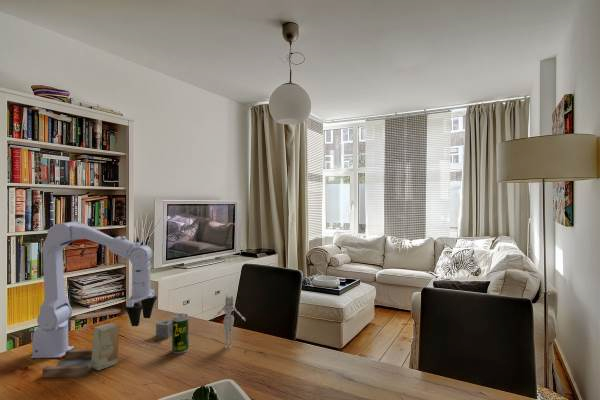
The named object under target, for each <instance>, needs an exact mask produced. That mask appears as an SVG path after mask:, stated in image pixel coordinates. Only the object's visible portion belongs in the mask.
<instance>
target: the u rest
mask: <svg viewBox="0 0 600 400" xmlns="http://www.w3.org/2000/svg"><path fill="white" fill-rule="evenodd" d="M64 356H65V358H64V359H63V360H62V361H60V362H59V363H58V364H57V365H54V366H53V365H52V366H51V365H50V366H44V367H43V368H42V378H71V377H72V378H75V377H79V378H80V377H87V376H88V375H89V374H90V373H91V372H92V371H93V370H94V369H95V368H93V367H91V359H92V348H91V349H90V348H89V349H88V348H87V349H80V348H79V349H71V350H67V351H66V352H65V355H64Z"/></svg>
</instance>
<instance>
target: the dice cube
mask: <svg viewBox="0 0 600 400" xmlns="http://www.w3.org/2000/svg"><path fill="white" fill-rule="evenodd" d="M155 337H156V338H159V339H160V338H161V339H169V338H172V319H162V320H160V321H159V322H157V323H156V324H155Z"/></svg>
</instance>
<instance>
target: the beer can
mask: <svg viewBox="0 0 600 400" xmlns="http://www.w3.org/2000/svg"><path fill="white" fill-rule="evenodd" d="M171 320H172V336H171V351H172V353H174V354H176V355H178V354H184V353H187V352H188V351H189V343H190V342H189V327H190V325H189V321H190V320H189V316H188V313H176V314H174V315H173V316H172V319H171Z"/></svg>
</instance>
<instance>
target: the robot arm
mask: <svg viewBox="0 0 600 400" xmlns="http://www.w3.org/2000/svg"><path fill="white" fill-rule="evenodd" d="M84 239H85V240H87V241H88V240H89V241H91V242H94V243H97V244H100V245H102V246H105V247H107V248H108V249H109V252H110V253H112V254H115V255H117V256H120V257H122V258H124V259H127V260H129V262H130V263H131V265H132V266H131V280H132V281H131V283H132V284H131V296H130V297H129V298H128V299H127V300H126V304H125V305H124V307H123V308H124V310H125V312H126V314H128V318H129V321H130V325H131V327H138V326H139V325H140V320H141V315H142V316H143V319H151V316H152V312H153V308H154V305H155V303H156V301H157V299H158V296H156V295H155V293H156V291H155V290H156V289H154V288H153V289H152V288H151V259H152V258H153V253H154V252H153V249H152V247H150V246H148V245H147V244H141V242H134V241H132V240H129V239H127V236H125V235H123V236H115V237H112V236H110V235H108V234H106V233H104V232H102V231H100V230H98V229H96V228H94V227H92V226H89V225H88V224H87V223H81V222H80V221H77V220H73V221H69V222H68V221H67V222H59V223H56V224H54V225H52V226H51V227H50V228H49V229H47V236H46V238H45V240H44V241H43V244H42V247H41V249H42V250H41V251H42V265H43V266H42V269H43V285H44V286H43V288H44V300H43V301H42V303H41V305H40V306H39V313H38V316H37V320H36V322H37V325H38V327H37V328H36V329H35V330H34V332H33V334H32V355H31V359H41V358H42V359H43V358H44V359H47V358H48V359H50V358H62V357H63V356H66V355H65V352H66V351H67V350H74V348H75V346H74V345H69V319H71V317H72V315H73V308H72V307H71V304H70V299H69V298H68V297H67V296H65V279H64V275H65V274H64V260H63V259H64V258H63V251H64V249H65V248H66V247H67V246H68V245H70V243H72V242H74V241H77V240H84ZM140 244H141V245H140ZM139 303H140V304H141V305H140V304H139ZM141 313H142V314H141Z"/></svg>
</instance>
